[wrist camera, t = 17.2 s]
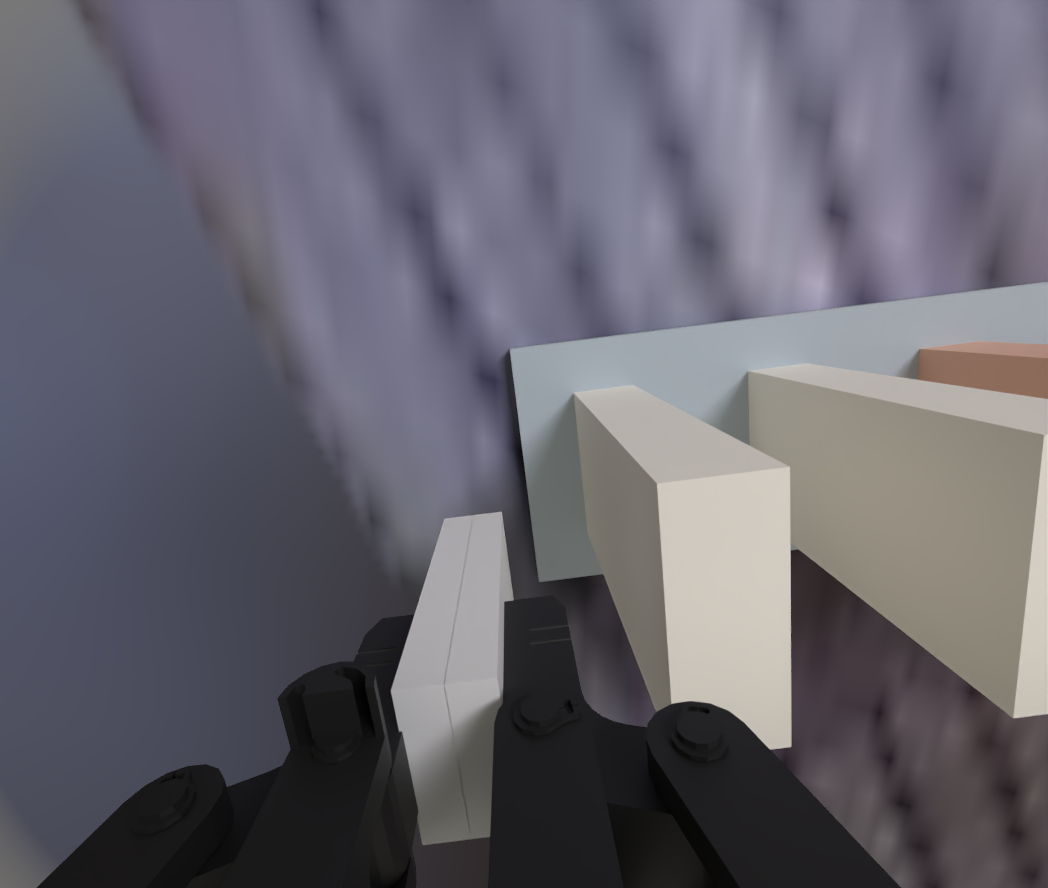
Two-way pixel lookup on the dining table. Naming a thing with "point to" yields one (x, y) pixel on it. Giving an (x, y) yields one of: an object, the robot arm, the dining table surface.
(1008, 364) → the domino
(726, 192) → the dining table surface
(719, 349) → the mat
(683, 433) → the end domino
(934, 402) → the domino
